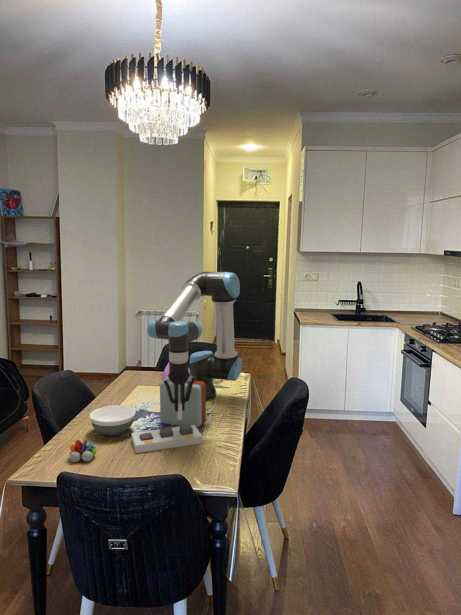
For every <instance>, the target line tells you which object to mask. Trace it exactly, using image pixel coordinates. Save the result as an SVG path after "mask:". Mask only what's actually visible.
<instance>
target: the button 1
mask: <svg viewBox="0 0 461 615" xmlns="http://www.w3.org/2000/svg"><path fill="white" fill-rule="evenodd" d="M151 439H153V436H152V434H151V433H144V434H140V440H141V441H144V440H151Z"/></svg>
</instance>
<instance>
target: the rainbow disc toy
mask: <svg viewBox="0 0 461 615" xmlns="http://www.w3.org/2000/svg"><path fill="white" fill-rule="evenodd" d="M74 442H75V443H74V444H70V446H69V449H70V452H69V460H70V462H72V463H78V462H79V461H80V460H82V461H83V462H86V463H88V462H90V461H92V460H93V459H94V458H93V457H94V456H95V455H96V454H97V449H96V446H95V445H94V444H95V443H94V442H92V441H91V442H90V443H88V439H85V438H84V439H83V441H82V440H80V439H76V440H75V441H74Z"/></svg>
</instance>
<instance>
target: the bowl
mask: <svg viewBox="0 0 461 615" xmlns="http://www.w3.org/2000/svg"><path fill="white" fill-rule="evenodd" d="M136 413H137V411H136V410H135V409H134V408H133V407H131V406H128V405H119V404H117V405H115V404H113V405H106V406H102V407H99V408H96V409H94V410H92V411H91V412H90V413H89V419H90V421H91V426H92V427H93V428H94V430H95V431H97V432H98V433H100V434H102V435H104V436H107V435H109V436H108V437H115V436H114V435H116V436H119V434H120V435H121V434H123V433H124V432H126V431H127V430H129V429H130V427H131V426H132V425H133V423H134V421H135V415H136Z"/></svg>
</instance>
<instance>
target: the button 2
mask: <svg viewBox="0 0 461 615" xmlns="http://www.w3.org/2000/svg"><path fill="white" fill-rule="evenodd" d="M178 427H180V433H181V435H187V434H193V428H192V427H191V425H182V426H178Z"/></svg>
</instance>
